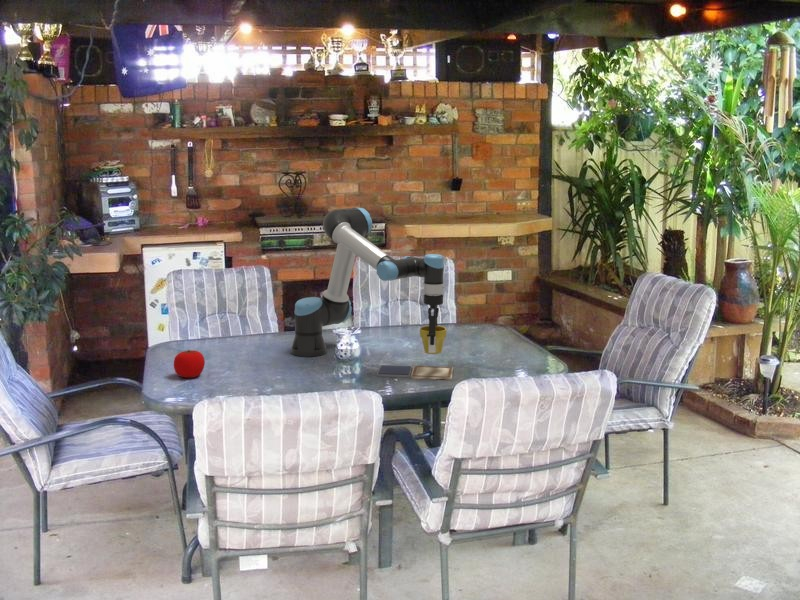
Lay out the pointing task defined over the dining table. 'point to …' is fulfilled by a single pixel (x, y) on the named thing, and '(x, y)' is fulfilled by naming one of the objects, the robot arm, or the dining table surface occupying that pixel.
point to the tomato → (189, 364)
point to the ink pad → (394, 371)
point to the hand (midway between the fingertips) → (432, 349)
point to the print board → (432, 372)
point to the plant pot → (440, 338)
